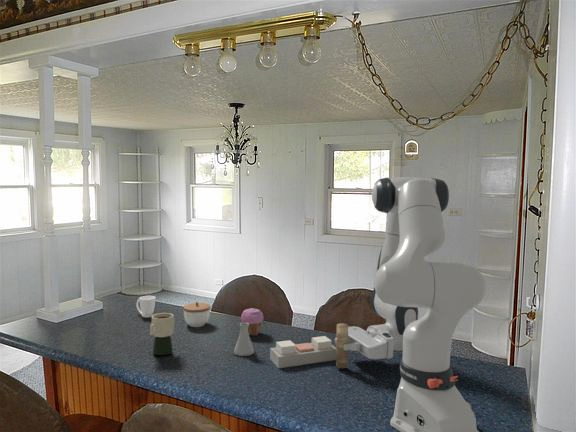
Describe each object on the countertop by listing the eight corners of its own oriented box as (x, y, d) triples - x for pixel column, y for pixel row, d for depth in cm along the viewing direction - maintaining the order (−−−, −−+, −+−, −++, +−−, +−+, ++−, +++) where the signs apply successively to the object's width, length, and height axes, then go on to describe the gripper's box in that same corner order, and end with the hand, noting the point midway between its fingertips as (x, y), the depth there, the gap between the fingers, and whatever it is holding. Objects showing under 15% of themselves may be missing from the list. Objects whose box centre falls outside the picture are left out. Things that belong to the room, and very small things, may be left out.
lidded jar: (177, 325, 175) (177, 302, 174) (197, 319, 184) (197, 297, 183) (196, 330, 169) (196, 307, 168) (215, 324, 178) (215, 301, 177)
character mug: (166, 346, 152) (166, 310, 151) (182, 350, 148) (182, 313, 148) (142, 357, 142) (142, 318, 141) (158, 361, 139) (158, 321, 138)
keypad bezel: (337, 359, 143) (337, 349, 142) (278, 368, 135) (278, 357, 135) (326, 351, 150) (326, 340, 150) (269, 358, 142) (270, 348, 142)
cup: (146, 319, 182) (146, 300, 182) (130, 315, 187) (130, 297, 187) (159, 315, 188) (159, 297, 188) (143, 311, 193) (143, 293, 193)
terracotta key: (313, 356, 141) (314, 347, 141) (299, 358, 139) (299, 349, 139) (307, 350, 146) (307, 342, 146) (293, 352, 144) (294, 344, 144)
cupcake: (262, 338, 162) (262, 312, 161) (239, 337, 162) (239, 311, 161) (264, 330, 171) (264, 305, 170) (242, 330, 171) (242, 305, 170)
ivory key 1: (295, 354, 139) (296, 345, 138) (281, 355, 137) (281, 347, 137) (290, 348, 143) (290, 340, 143) (275, 350, 141) (276, 342, 141)
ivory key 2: (331, 349, 143) (331, 340, 143) (317, 351, 141) (318, 342, 141) (324, 344, 148) (325, 335, 148) (311, 345, 146) (311, 337, 146)
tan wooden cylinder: (349, 367, 134) (350, 326, 133) (339, 368, 133) (340, 327, 132) (343, 362, 138) (344, 322, 137) (333, 364, 136) (334, 324, 135)
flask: (251, 357, 143) (251, 328, 143) (230, 355, 145) (230, 326, 144) (257, 349, 150) (257, 321, 150) (237, 348, 152) (237, 320, 151)
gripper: (360, 320, 149) (324, 324, 144) (396, 340, 130) (356, 345, 125) (360, 338, 149) (324, 342, 144) (395, 360, 130) (355, 366, 125)
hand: (339, 344), depth 134 cm, fingers closed on tan wooden cylinder, 3 cm apart
